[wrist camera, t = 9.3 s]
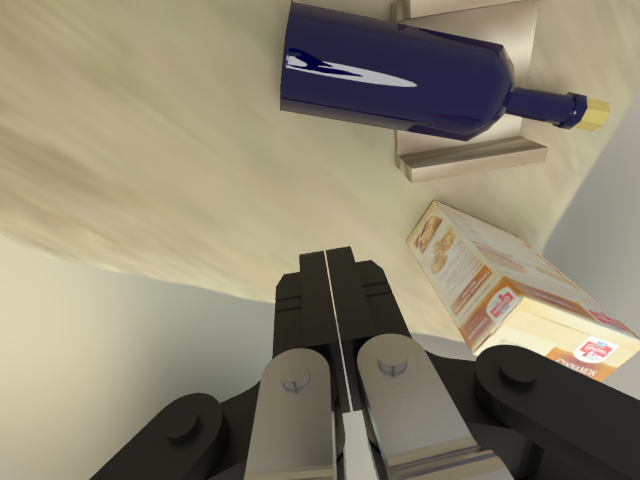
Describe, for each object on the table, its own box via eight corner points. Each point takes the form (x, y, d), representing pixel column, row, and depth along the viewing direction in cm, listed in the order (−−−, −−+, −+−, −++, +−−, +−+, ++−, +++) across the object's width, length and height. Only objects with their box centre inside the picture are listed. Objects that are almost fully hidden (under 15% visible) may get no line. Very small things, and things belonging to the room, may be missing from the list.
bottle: (282, 122, 36) (550, 167, 38) (277, 98, 27) (629, 159, 29) (294, 28, 35) (570, 81, 37) (293, -30, 26) (658, 45, 28)
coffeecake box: (403, 242, 46) (470, 356, 29) (433, 197, 43) (526, 294, 26) (489, 277, 50) (591, 394, 33) (522, 237, 47) (651, 344, 31)
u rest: (391, 4, 33) (410, -4, 28) (535, -19, 33) (582, -32, 28) (395, 165, 41) (411, 182, 36) (512, 146, 41) (545, 161, 36)
